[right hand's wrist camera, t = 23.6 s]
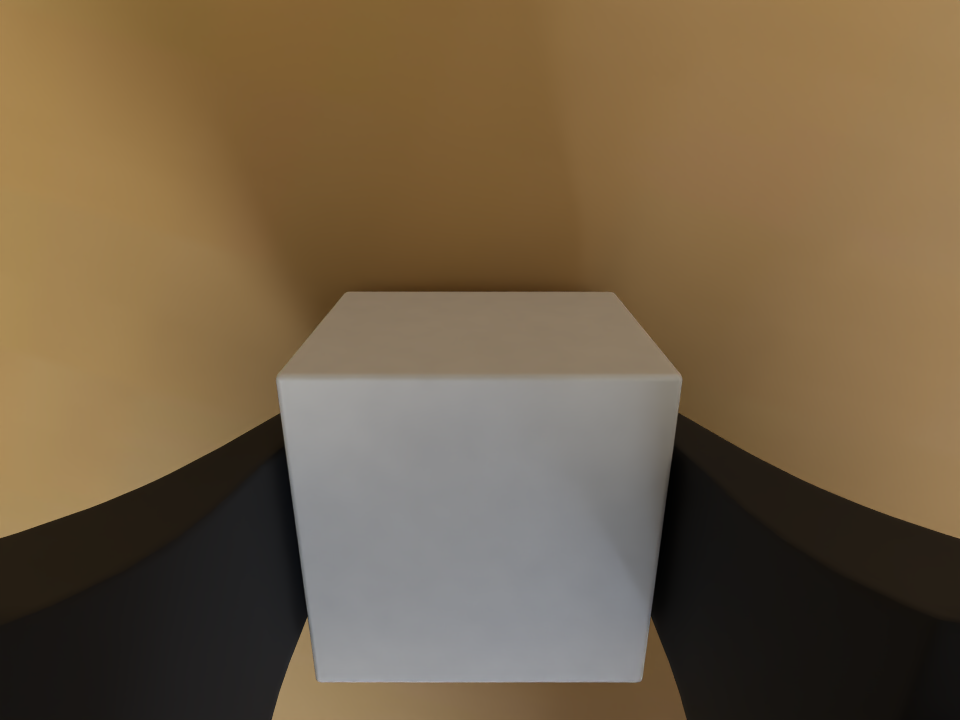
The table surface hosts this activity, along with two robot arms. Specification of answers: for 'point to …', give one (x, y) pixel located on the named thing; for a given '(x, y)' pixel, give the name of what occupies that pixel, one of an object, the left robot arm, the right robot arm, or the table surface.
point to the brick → (479, 485)
